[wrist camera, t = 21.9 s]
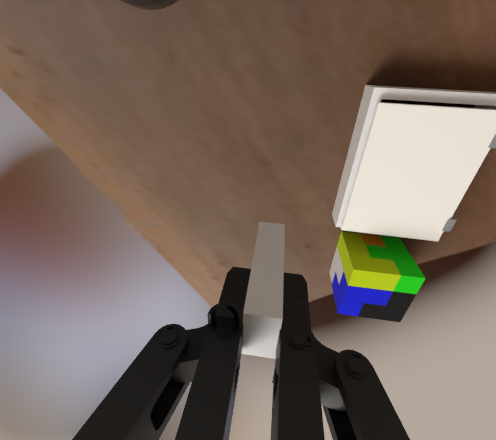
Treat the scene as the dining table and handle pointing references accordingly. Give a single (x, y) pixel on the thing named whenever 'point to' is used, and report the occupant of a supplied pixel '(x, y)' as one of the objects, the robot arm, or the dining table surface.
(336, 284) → the puzzle toy
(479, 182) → the dining table surface
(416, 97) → the white hinged box
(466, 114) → the cover
